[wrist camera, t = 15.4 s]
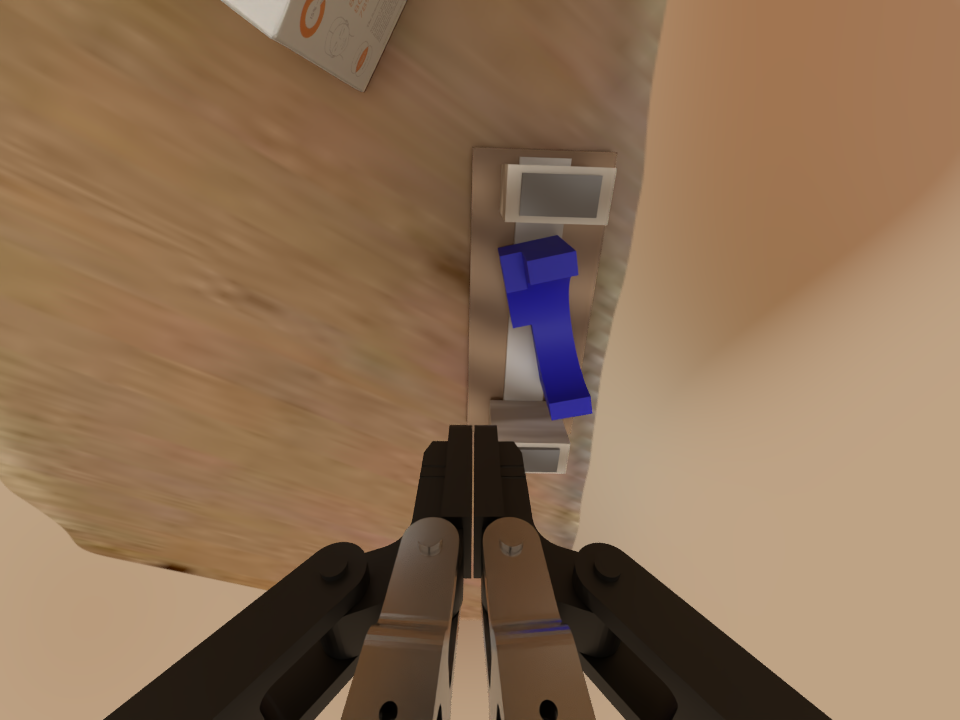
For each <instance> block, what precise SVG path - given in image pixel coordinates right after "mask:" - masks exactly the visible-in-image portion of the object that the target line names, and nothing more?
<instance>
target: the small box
mask: <svg viewBox="0 0 960 720" xmlns="http://www.w3.org/2000/svg"><path fill="white" fill-rule="evenodd" d="M221 1H222V2H223V3H225V4H226V5H227V6H229V7H230V8H231V9H232V10H234V11H235V12H236V13H238V14H239V15H240V16H242V17H243V18H244V19H245V20H247V21H248V22H249V23H251V24H252V25H253V26H255V27H256V28H257V29H259V30H260V31H261V32H262V33H264V34H265V35H266V36H268V37H269V38H271V39H273V40H274V41H276V42H278V43H280V44H282V45H283V46H285V47H287V48H289V49H290V50H292V51H294V52H295V53H297V54H299V55H300V56H302V57H304V58H305V59H307V60H308V61H310V62H312V63H313V64H315V65H317V66H318V67H320V68H322V69H324V70H325V71H327V72H328V73H330V74H331V75H333V76H335V77H336V78H338V79H340V80H341V81H343V82H345V83H346V84H348V85H350V86H351V87H353V88H355V89H356V90H358V91H361V92H364V91H365V89H366V87H367V85H368V83H369V81H370V78H371V76H372V74H373V72H374V70H375V68H376V66H377V64H378V61H379V59H380V57H381V55H382V53H383V51H384V49H385V46H386V44H387V42H388V40H389V38H390V36H391V33H392V31H393V29H394V27H395V25H396V23H397V21H398V18H399V16H400V14H401V12H402V10H403V8H404V5H405V3H406V1H407V0H221Z"/></svg>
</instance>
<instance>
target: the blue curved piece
mask: <svg viewBox="0 0 960 720" xmlns="http://www.w3.org/2000/svg"><path fill="white" fill-rule="evenodd" d="M498 253H499V258H500V263H501V269H502V274H503V279H504V285H505V290H506V296H507V301H508V306H509V312H510V317H511V322H512V326H513V328H518V327H523V326H528V325H531V330H532V336H533V342H534V348H535V354H536V360H537V366H538V372H539V379H540V383H541V386H542V390H543V393H544V396H545V400H546V403H547V406H548V410H549V413H550V416H551V420H552V421H553V420H558V419H564V418H569V417H575V416H581V415H586V414H592V406H591V396H590V394H589V392H588V390H587V387H586V384H585V382H584V379H583V375H582V372H581V369H580V365H579V361H578V357H577V353H576V348H575V343H574V338H573V332H572V326H571V318H570V308H569V284H570V278H571V277H572V276H577V275H579V274H578V264H577V254H576V250H574V249H573V248H572V247H571V246H570V245H569V244H567V243H566V242H565V241H564V240H563V239H562V238H560V237H559V236H558V235H555V236H551V237H546V238H541V239H537V240H532V241H528V242H523V243H518V244H514V245H509V246H505V247H500V248H498Z"/></svg>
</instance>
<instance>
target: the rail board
mask: <svg viewBox="0 0 960 720" xmlns="http://www.w3.org/2000/svg"><path fill="white" fill-rule="evenodd" d="M616 158H617V152H594V151H566V150H538V149H511V148H483V147H473V164H472V214H471V263H470V312H469V362H468V411H467V425H472V432H474V425H497V432H498V441H514V443H515V444H516V445H517V447H518V448H519V449H520V451H521V452H522V456H523V462H524V468H525V473H556V474H565V473H566V467H567V461H568V455H569V449H570V441H569V438H568V435H567V434H571V428H572V422H573V417H569V418H564V419H558V420H553V421H552V420H551V416H550V413H549V410H548V406H547V403H546V400H545V396H544V393H543V390H542V386H541V383H540V379H539V372H538V366H537V360H536V354H535V348H534V342H533V336H532V330H531V325H528V326H523V327H518V328H513V326H512V322H511V317H510V312H509V306H508V301H507V296H506V290H505V285H504V279H503V274H502V269H501V263H500V258H499V253H498V248H500V247H505V246H509V245H514V244H518V243H523V242H528V241H532V240H537V239H541V238H546V237H551V236H555V235H558V236H559V237H560V238H562V239H563V240H564V241H565V242H566V243H567V244H569V245H570V246H571V247H572V248H573V249H574V250H576V254H577V264H578V274H579V275H577V276H572V277H571V278H570V284H569V308H570V318H571V326H572V332H573V338H574V343H575V348H576V353H577V357H578V361H579V365H580V369H581V368H582V362H583V356H584V350H585V344H586V338H587V332H588V326H589V320H590V314H591V308H592V302H593V296H594V290H595V284H596V278H597V272H598V266H599V260H600V254H601V248H602V242H603V236H604V230H605V225H607V224H608V219H609V213H610V207H611V201H612V195H613V189H614V183H615V177H616V171H617V168H615V164H616Z"/></svg>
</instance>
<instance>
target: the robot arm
mask: <svg viewBox="0 0 960 720" xmlns="http://www.w3.org/2000/svg"><path fill="white" fill-rule="evenodd" d="M471 539H472V425H450V427H449V437H448V441H433V442H432V443H431V444H430V445H429V447H428V448H427V449H426V451H425V452H424V456H423V461H422V468H421V473H420V479H419V484H418V490H417V496H416V502H415V507H414V513H413V519H412V523H411V525H410V526H409V527H408V529H407V530H406V531H405V533H404V534H403V536H402V537H401V538H400V539H399V540H397V541H396V542H394V543H392V544H391V545H388V546H386V547H383V548H380V549H376V550H373V551H370V552H366V553H364V551H363V550H362V549H361V548H360V547H359V546H357V545H355V544H353V543H349V542H339V543H334V544H331V545H328V546H326V547H324V548H322V549H321V550H319V551H318V552H316V553H315V554H314V555H313V556H311V557H310V558H309V559H307V560H306V561H305V562H304V563H302V564H301V565H300V566H298V567H297V568H296V569H295V570H293V571H292V572H291V573H290V574H288V575H287V576H286V577H284V578H283V579H282V580H281V581H279V582H278V583H277V584H276V585H274V586H273V587H272V588H270V589H269V590H268V591H267V592H265V593H264V594H263V595H262V596H260V597H259V598H258V599H257V600H255V601H254V602H253V603H251V604H250V605H249V606H248V607H246V608H245V609H244V610H242V611H241V612H240V613H239V614H237V615H236V616H235V617H233V618H232V619H231V620H230V621H228V622H227V623H226V624H225V625H223V626H222V627H221V628H219V629H218V630H217V631H216V632H214V633H213V634H212V635H211V636H209V637H208V638H207V639H205V640H204V641H203V642H202V643H200V644H199V645H198V646H197V647H195V648H194V649H193V650H191V651H190V652H189V653H188V654H186V655H185V656H184V657H183V658H181V659H180V660H179V661H177V662H176V663H175V664H174V665H172V666H171V667H170V668H168V669H167V670H166V671H165V672H163V673H162V674H161V675H160V676H158V677H157V678H156V679H154V680H153V681H152V682H151V683H149V684H148V685H147V686H145V687H144V688H143V689H142V690H140V691H139V692H138V693H137V694H135V695H134V696H133V697H131V698H130V699H129V700H128V701H127V702H125V703H124V704H123V705H121V706H120V707H119V708H117V709H116V710H115V711H114V712H112V713H111V714H110V715H109V716H107V717H106V718H105V719H103V720H314V719H315V718H316V717H317V716H318V715H319V714H320V713H321V712H322V710H323V709H324V708H325V707H326V706H327V705H328V704H329V702H330V701H331V700H332V699H333V698H334V697H335V696H336V695H337V694H338V693H339V692H340V690H341V689H342V688H343V687H344V686H345V685H346V684H347V683H348V681H349V680H350V679H351V678H352V677H353V676H354V677H353V680H352V684H351V687H350V690H349V694H348V697H347V701H346V704H345V707H344V710H343V714H342V717H341V720H450V716H451V715H450V714H451V698H452V686H453V677H454V667H455V658H456V649H457V639H458V630H459V621H460V610H461V604H462V601H463V578H471ZM474 578H481V614H482V626H483V638H484V650H485V661H486V672H487V684H488V697H489V720H596V718H595V715H594V711H593V707H592V704H591V700H590V697H589V693H588V689H587V685H586V682H585V678H584V674H583V671H584V673H585V674H586V675H587V676H588V677H589V678H590V680H591V681H592V682H593V683H594V684H595V685H596V686H597V687H598V689H599V690H600V691H601V692H602V693H603V694H604V696H605V697H606V698H607V699H608V700H609V701H610V702H611V704H612V705H613V706H614V707H615V708H616V709H617V710H618V711H619V713H620V714H621V715H622V716H623V717H624V718H625V719H626V720H832V719H831V718H829V717H828V716H827V715H826V714H824V713H823V712H822V711H821V710H819V709H818V708H817V707H816V706H814V705H813V704H812V703H811V702H809V701H808V700H807V699H806V698H805V697H803V696H802V695H801V694H799V693H798V692H797V691H796V690H795V689H793V688H792V687H791V686H790V685H788V684H787V683H786V682H784V681H783V680H782V679H781V678H780V677H778V676H777V675H776V674H775V673H773V672H772V671H771V670H770V669H768V668H767V667H766V666H765V665H763V664H762V663H761V662H760V661H758V660H757V659H756V658H755V657H754V656H752V655H751V654H750V653H748V652H747V651H746V650H745V649H744V648H742V647H741V646H740V645H738V644H737V643H736V642H735V641H734V640H732V639H731V638H730V637H729V636H727V635H726V634H725V633H724V632H722V631H721V630H720V629H718V628H717V627H716V626H715V625H714V624H712V623H711V622H710V621H709V620H707V619H706V618H705V617H704V616H703V615H701V614H700V613H699V612H697V611H696V610H695V609H694V608H693V607H691V606H690V605H689V604H688V603H686V602H685V601H684V600H683V599H681V598H680V597H678V595H676V594H675V593H674V592H673V591H671V590H670V589H669V588H668V587H666V586H665V585H664V584H663V583H661V582H660V581H659V580H658V579H657V578H655V577H654V576H653V575H652V574H650V573H649V572H648V571H647V570H645V569H644V568H643V567H641V566H640V565H639V564H638V563H637V562H635V561H634V560H633V559H632V558H630V557H629V556H628V555H627V554H625V553H624V552H623V551H621V550H620V549H618V548H616V547H614V546H612V545H609V544H605V543H592V544H589V545H586V546H584V547H583V548H582V549H581V550H580V551H579V552H576V551H573V550H569V549H566V548H563V547H560V546H557V545H555V544H553V543H551V542H549V541H548V540H546V539H545V538H544V537H543V536H542V535H541V534H540V533H539V532H538V531H537V529H536V527H535V525H534V523H533V519H532V513H531V506H530V500H529V494H528V487H527V481H526V475H525V468H524V462H523V456H522V452H521V451H520V449H519V448H518V447H517V445H516V444H515V443H514V441H498V432H497V425H474Z"/></svg>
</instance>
